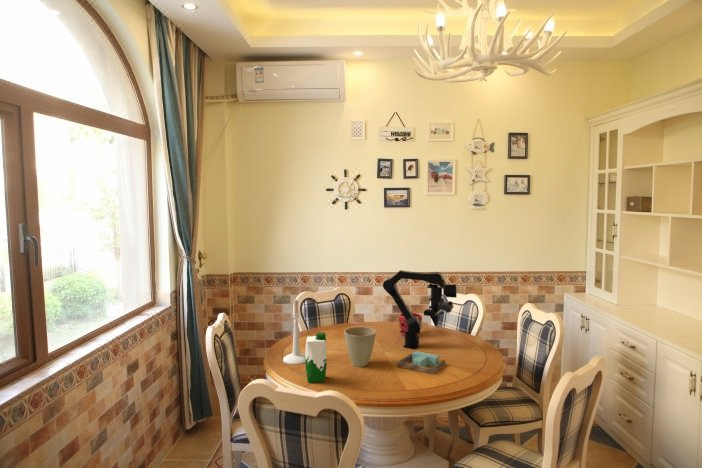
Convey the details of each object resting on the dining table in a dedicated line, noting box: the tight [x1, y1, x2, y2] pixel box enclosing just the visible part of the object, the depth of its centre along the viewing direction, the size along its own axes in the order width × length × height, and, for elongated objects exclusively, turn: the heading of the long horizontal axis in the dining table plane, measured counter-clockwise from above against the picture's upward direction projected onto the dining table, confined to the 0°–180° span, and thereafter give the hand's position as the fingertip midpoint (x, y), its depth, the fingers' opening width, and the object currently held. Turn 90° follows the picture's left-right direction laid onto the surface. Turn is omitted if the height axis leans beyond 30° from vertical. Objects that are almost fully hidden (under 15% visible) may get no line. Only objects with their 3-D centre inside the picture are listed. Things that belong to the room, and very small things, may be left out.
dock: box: [396, 353, 446, 375], centre depth 210 cm, size 18×14×2 cm
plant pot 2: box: [398, 312, 423, 337], centre depth 259 cm, size 13×13×12 cm
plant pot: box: [343, 326, 377, 368], centre depth 212 cm, size 15×15×16 cm
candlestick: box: [282, 299, 305, 365], centre depth 217 cm, size 13×13×30 cm
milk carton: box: [304, 332, 328, 384], centre depth 193 cm, size 9×9×20 cm
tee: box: [411, 350, 440, 367], centre depth 211 cm, size 12×12×4 cm
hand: (436, 326), depth 234 cm, fingers closed
